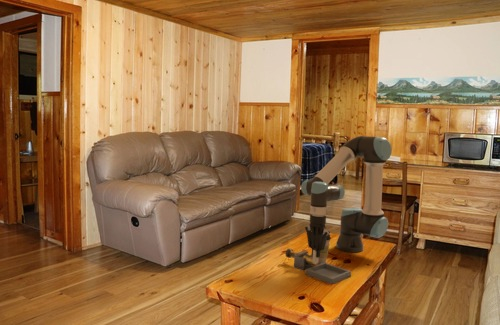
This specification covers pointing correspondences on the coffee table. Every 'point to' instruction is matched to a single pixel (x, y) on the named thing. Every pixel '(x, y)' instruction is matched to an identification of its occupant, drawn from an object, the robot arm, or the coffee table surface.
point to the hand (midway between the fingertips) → (315, 263)
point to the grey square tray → (328, 273)
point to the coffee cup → (324, 251)
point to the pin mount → (302, 261)
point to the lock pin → (308, 259)
